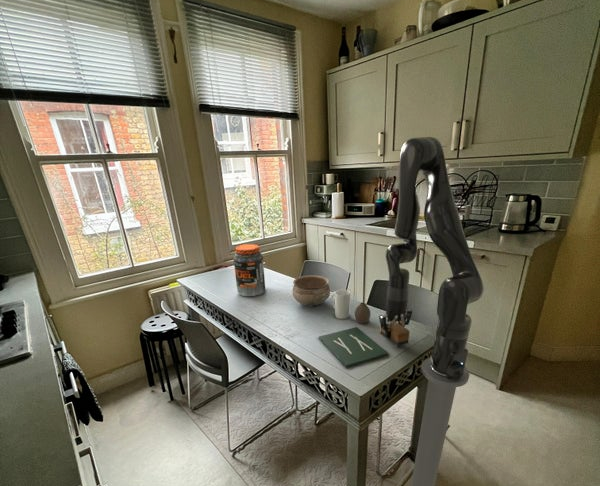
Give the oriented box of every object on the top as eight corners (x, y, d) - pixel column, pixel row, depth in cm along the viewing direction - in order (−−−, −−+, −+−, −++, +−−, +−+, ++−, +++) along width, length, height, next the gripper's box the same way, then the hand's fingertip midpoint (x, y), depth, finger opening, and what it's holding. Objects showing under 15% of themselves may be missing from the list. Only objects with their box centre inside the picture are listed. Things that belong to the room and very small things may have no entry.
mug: (352, 316, 147) (353, 292, 142) (342, 320, 143) (343, 296, 138) (336, 309, 154) (336, 286, 149) (326, 313, 150) (326, 290, 145)
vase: (353, 323, 140) (353, 305, 136) (355, 316, 146) (356, 299, 142) (368, 325, 138) (370, 307, 134) (370, 318, 144) (372, 301, 140)
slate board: (388, 355, 117) (388, 352, 117) (346, 367, 111) (346, 365, 111) (356, 329, 136) (356, 326, 135) (318, 338, 130) (318, 336, 129)
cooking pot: (281, 301, 164) (280, 279, 159) (309, 292, 175) (308, 271, 170) (313, 317, 146) (313, 293, 141) (342, 306, 157) (342, 283, 152)
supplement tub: (232, 295, 173) (226, 249, 163) (245, 285, 187) (240, 242, 176) (258, 298, 169) (254, 251, 158) (270, 288, 182) (266, 243, 171)
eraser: (408, 343, 120) (409, 330, 118) (397, 346, 119) (398, 333, 117) (390, 330, 130) (391, 319, 128) (380, 333, 128) (380, 321, 126)
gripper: (387, 303, 112) (384, 345, 118) (419, 296, 116) (415, 336, 123) (375, 296, 118) (373, 336, 125) (406, 289, 123) (402, 328, 130)
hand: (393, 336), depth 124 cm, fingers closed on eraser, 5 cm apart
